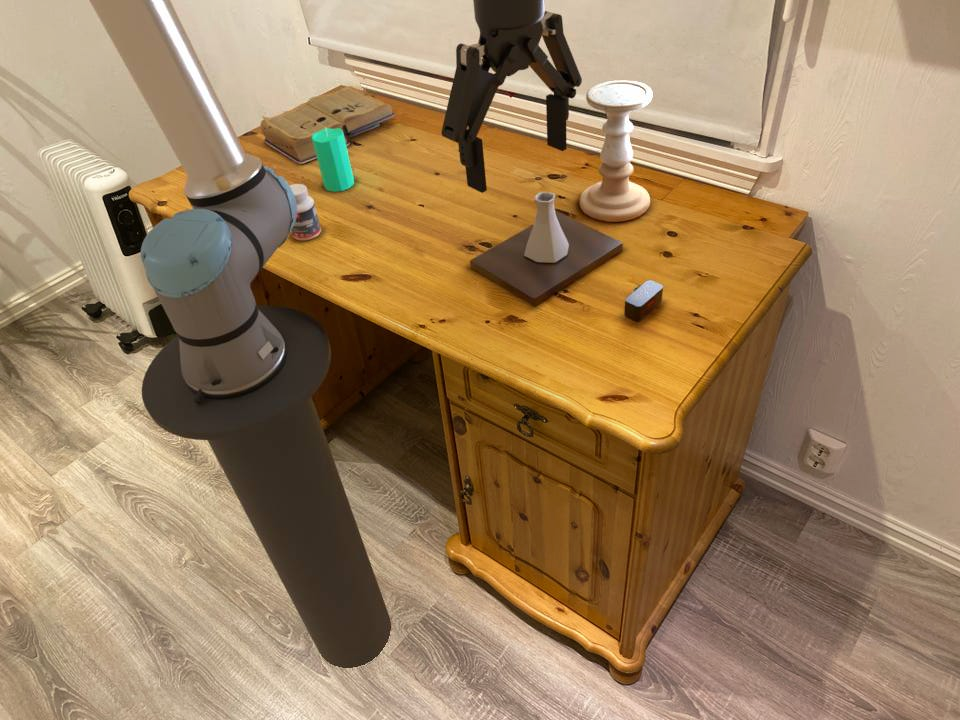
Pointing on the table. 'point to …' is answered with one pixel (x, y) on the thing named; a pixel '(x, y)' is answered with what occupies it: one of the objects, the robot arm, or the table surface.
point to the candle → (333, 159)
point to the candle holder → (616, 153)
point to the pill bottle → (305, 215)
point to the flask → (546, 232)
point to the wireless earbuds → (643, 300)
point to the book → (323, 121)
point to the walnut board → (544, 277)
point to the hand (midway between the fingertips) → (518, 167)
